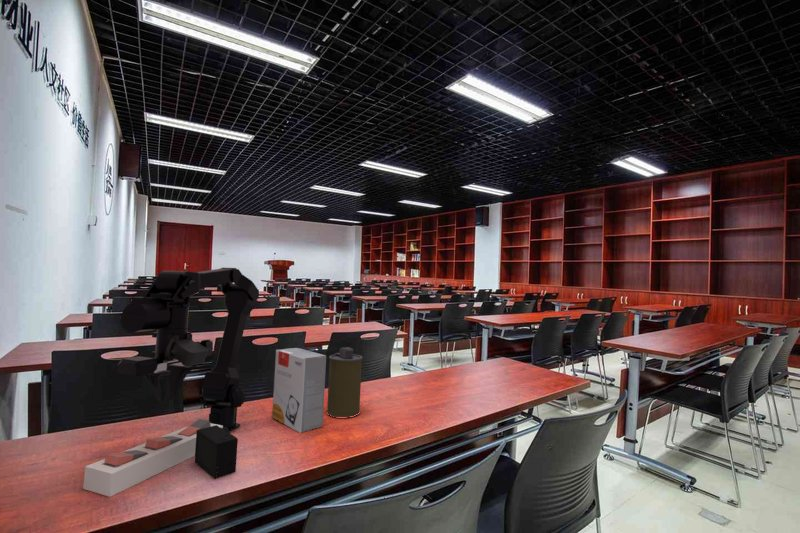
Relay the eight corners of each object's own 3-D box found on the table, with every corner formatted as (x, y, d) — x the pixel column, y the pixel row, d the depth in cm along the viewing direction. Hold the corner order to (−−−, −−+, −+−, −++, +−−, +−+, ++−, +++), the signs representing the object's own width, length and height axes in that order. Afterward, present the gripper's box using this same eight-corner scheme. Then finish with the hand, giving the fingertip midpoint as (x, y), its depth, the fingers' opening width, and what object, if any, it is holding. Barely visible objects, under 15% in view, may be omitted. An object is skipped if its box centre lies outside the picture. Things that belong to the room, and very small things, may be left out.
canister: (366, 414, 115) (369, 349, 116) (337, 421, 108) (340, 351, 110) (348, 405, 123) (350, 344, 125) (319, 411, 117) (322, 346, 118)
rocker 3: (200, 424, 91) (199, 418, 91) (210, 426, 90) (209, 420, 90) (178, 439, 85) (177, 433, 85) (189, 441, 84) (188, 435, 84)
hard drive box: (270, 418, 109) (274, 349, 110) (294, 412, 114) (297, 347, 116) (300, 433, 98) (304, 357, 99) (324, 426, 104) (327, 354, 105)
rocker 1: (134, 457, 76) (136, 450, 76) (145, 460, 75) (147, 452, 75) (104, 462, 70) (106, 454, 71) (116, 465, 69) (118, 457, 70)
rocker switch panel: (209, 433, 96) (210, 417, 96) (231, 437, 94) (232, 421, 94) (83, 488, 69) (85, 466, 69) (109, 496, 66) (111, 473, 67)
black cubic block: (241, 470, 78) (243, 436, 78) (214, 480, 74) (217, 443, 74) (220, 454, 85) (222, 423, 85) (194, 462, 80) (196, 429, 81)
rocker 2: (169, 442, 83) (171, 436, 84) (180, 445, 82) (182, 438, 83) (145, 446, 78) (147, 438, 78) (156, 448, 77) (158, 441, 77)
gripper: (160, 334, 70) (153, 419, 69) (233, 326, 88) (229, 394, 87) (118, 330, 74) (111, 411, 73) (197, 323, 91) (192, 388, 90)
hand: (167, 400), depth 81 cm, fingers open, 3 cm apart
